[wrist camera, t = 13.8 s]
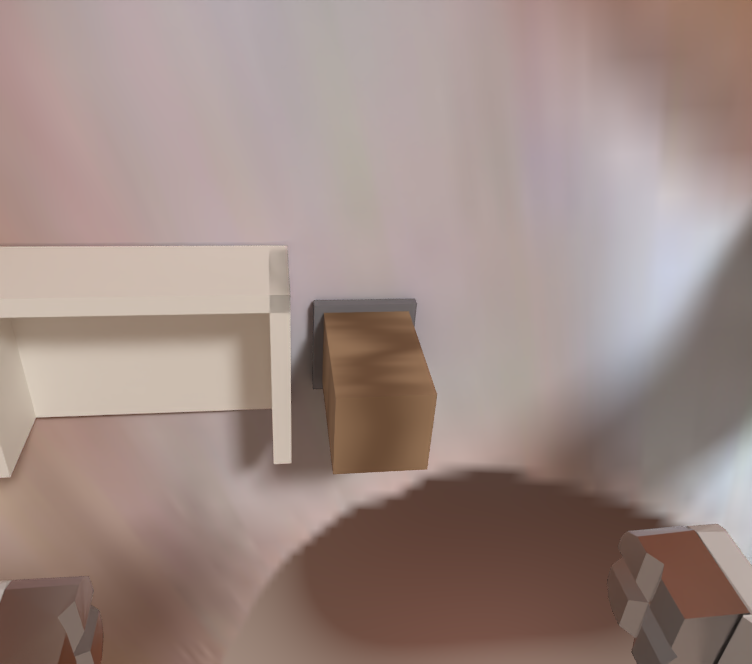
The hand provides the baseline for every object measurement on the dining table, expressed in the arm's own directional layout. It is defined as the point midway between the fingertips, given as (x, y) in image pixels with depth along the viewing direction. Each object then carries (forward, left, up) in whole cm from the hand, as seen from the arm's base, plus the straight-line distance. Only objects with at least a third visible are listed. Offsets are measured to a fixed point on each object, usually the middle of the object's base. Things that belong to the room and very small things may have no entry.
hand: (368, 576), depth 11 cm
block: (-4, +14, -27) cm, 31 cm away
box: (+9, +13, -28) cm, 32 cm away
